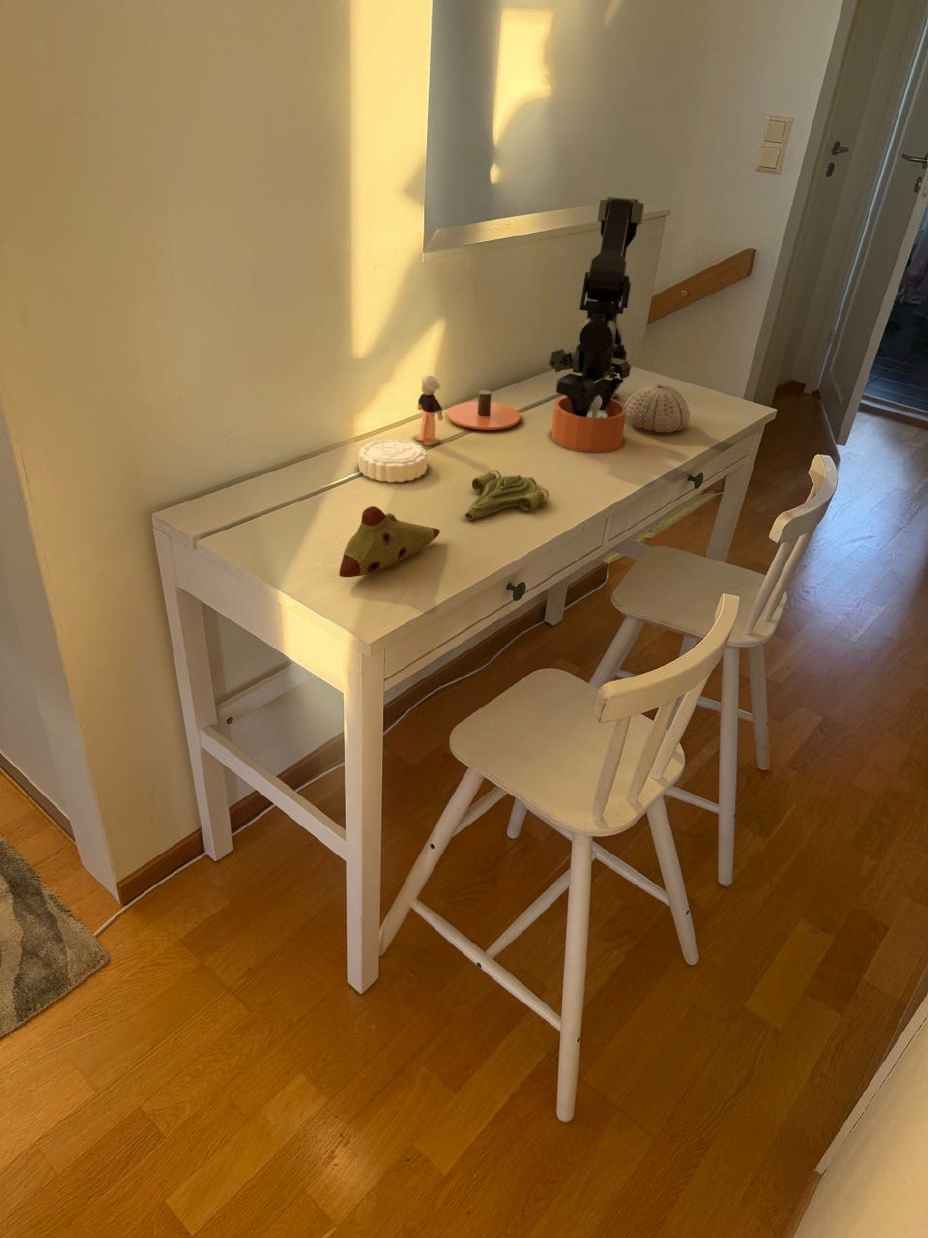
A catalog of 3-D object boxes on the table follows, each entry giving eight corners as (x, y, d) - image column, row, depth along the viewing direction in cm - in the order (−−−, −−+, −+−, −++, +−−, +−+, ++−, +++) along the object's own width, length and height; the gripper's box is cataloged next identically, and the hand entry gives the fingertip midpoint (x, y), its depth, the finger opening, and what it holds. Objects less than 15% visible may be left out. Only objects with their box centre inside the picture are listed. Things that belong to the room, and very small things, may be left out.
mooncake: (388, 449, 164) (388, 431, 162) (440, 467, 159) (441, 448, 157) (344, 470, 156) (344, 450, 154) (398, 489, 150) (398, 469, 148)
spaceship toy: (436, 508, 145) (437, 488, 143) (502, 475, 157) (503, 456, 155) (498, 532, 139) (499, 512, 137) (561, 496, 151) (563, 477, 149)
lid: (474, 401, 188) (476, 375, 185) (533, 418, 181) (535, 391, 178) (432, 420, 178) (433, 392, 175) (493, 438, 171) (494, 410, 168)
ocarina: (426, 533, 137) (427, 473, 132) (452, 545, 134) (454, 484, 129) (327, 580, 124) (324, 516, 119) (354, 595, 121) (352, 529, 116)
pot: (573, 420, 181) (577, 389, 178) (633, 437, 175) (638, 405, 171) (538, 439, 172) (541, 406, 168) (600, 458, 165) (605, 424, 162)
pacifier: (565, 428, 170) (594, 434, 168) (568, 396, 167) (598, 402, 165) (580, 417, 176) (609, 423, 173) (583, 386, 172) (612, 391, 170)
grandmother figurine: (406, 438, 169) (407, 372, 162) (420, 433, 172) (422, 368, 165) (435, 450, 165) (437, 383, 158) (449, 445, 167) (452, 378, 161)
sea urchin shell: (646, 408, 189) (652, 371, 185) (701, 426, 181) (708, 388, 177) (608, 422, 181) (613, 384, 177) (664, 442, 173) (671, 402, 169)
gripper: (585, 320, 173) (576, 398, 182) (534, 340, 160) (527, 423, 169) (637, 331, 168) (625, 411, 176) (588, 353, 155) (578, 438, 163)
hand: (588, 420), depth 171 cm, fingers closed on pacifier, 7 cm apart
